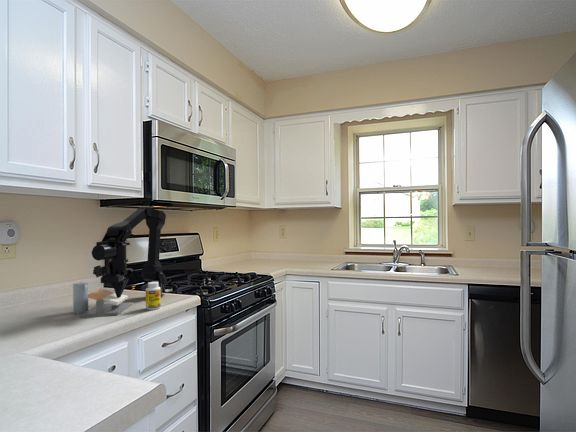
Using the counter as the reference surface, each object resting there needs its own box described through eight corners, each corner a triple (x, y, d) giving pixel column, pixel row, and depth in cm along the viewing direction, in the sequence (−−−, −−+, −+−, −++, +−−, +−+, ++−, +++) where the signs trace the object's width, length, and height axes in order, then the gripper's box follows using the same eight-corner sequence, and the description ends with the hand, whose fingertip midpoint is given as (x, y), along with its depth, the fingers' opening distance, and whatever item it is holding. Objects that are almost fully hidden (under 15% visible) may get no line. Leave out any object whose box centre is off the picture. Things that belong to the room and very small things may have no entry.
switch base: (99, 306, 139) (99, 292, 139) (132, 304, 140) (132, 291, 140) (80, 317, 123) (80, 301, 123) (117, 315, 124) (117, 300, 124)
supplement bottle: (147, 311, 130) (146, 284, 130) (144, 308, 134) (144, 282, 134) (162, 308, 133) (162, 282, 133) (159, 305, 137) (158, 280, 138)
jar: (77, 310, 133) (77, 282, 133) (90, 309, 133) (90, 281, 133) (70, 313, 128) (70, 284, 128) (84, 313, 128) (84, 284, 128)
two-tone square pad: (100, 293, 137) (101, 288, 137) (127, 300, 138) (128, 295, 138) (85, 300, 125) (87, 294, 125) (115, 307, 126) (117, 302, 126)
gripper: (106, 255, 141) (107, 293, 140) (85, 260, 122) (85, 304, 122) (134, 255, 142) (135, 292, 142) (117, 259, 123) (117, 302, 123)
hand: (118, 297), depth 132 cm, fingers closed
